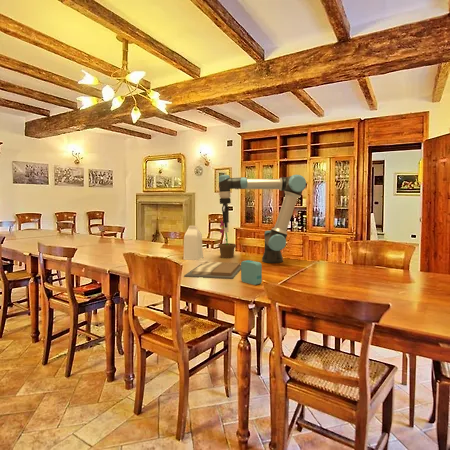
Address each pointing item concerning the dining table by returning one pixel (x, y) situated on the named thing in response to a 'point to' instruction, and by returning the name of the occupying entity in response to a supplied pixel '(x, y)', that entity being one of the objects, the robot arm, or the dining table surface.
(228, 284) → the dining table surface
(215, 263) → the plank
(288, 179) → the robot arm
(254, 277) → the data package
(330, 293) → the dining table surface
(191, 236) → the milk
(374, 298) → the dining table surface
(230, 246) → the flowerpot
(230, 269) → the floor frame
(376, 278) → the dining table surface
